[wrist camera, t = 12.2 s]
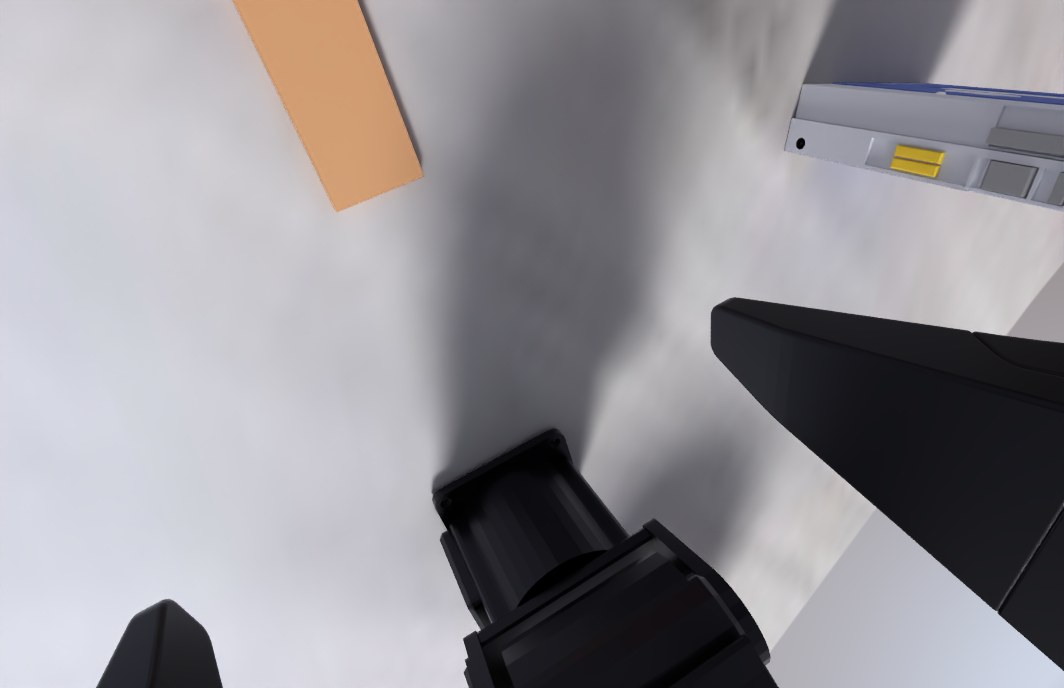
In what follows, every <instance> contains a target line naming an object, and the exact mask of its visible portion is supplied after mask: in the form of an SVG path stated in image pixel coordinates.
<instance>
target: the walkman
mask: <svg viewBox="0 0 1064 688" xmlns="http://www.w3.org/2000/svg"><path fill="white" fill-rule="evenodd" d="M785 151H787V152H791V153H796V154H800V155H805V156H809V157H814V158H818V159H823V160H827V161H832V162H836V163H841V164H845V165H850V166H854V167H859V168H863V169H868V170H872V171H877V172H881V173H886V174H890V175H895V176H899V177H904V178H908V179H913V180H917V181H922V182H926V183H931V184H935V185H940V186H945V187H949V188H954V189H958V190H963V191H972V192H976V193H981V194H985V195H990V196H994V197H999V198H1003V199H1008V200H1012V201H1017V202H1022V203H1026V204H1031V205H1035V206H1040V207H1044V208H1049V209H1053V210H1058V211H1062V212H1064V94H1054V93H1042V92H1029V91H1017V90H1004V89H992V88H979V87H966V86H954V85H941V84H929V83H833V84H803V85H802V90H801V94H800V99H799V103H798V108H797V112H796V117H795V118H792V120H791V124H790V128H789V133H788V137H787V142H786V146H785Z"/></svg>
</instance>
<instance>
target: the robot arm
mask: <svg viewBox="0 0 1064 688" xmlns="http://www.w3.org/2000/svg"><path fill="white" fill-rule="evenodd" d="M711 347H712V350H713V352H714V354H715V355H716V357H717V358H718V359H719V360H720V361H721V362H722V363H723V364H724V365H725V366H726V368H727V369H728V370H729V371H730V372H731V373H732V374H733V375H734V376H735V377H736V378H737V379H738V380H739V381H740V382H741V384H742V385H743V386H744V387H745V388H746V389H747V390H748V391H749V392H750V393H751V394H752V395H753V396H754V397H755V399H756V400H757V401H758V402H759V403H760V404H761V405H762V406H763V407H764V408H765V409H766V410H767V411H768V412H769V413H770V414H771V415H772V416H773V417H774V418H775V419H776V420H777V421H778V422H779V423H781V424H782V425H783V426H784V427H785V428H786V429H787V430H788V431H790V432H791V433H792V434H793V435H794V436H795V437H796V438H798V439H799V440H800V441H801V442H802V443H803V444H804V445H806V446H807V447H808V448H809V449H810V450H811V451H812V452H814V453H815V454H816V455H817V456H818V457H819V458H820V459H822V460H823V461H824V462H825V463H826V464H827V465H829V466H830V467H831V468H832V469H833V470H834V471H835V472H837V473H838V474H839V475H840V476H841V477H842V478H843V479H845V480H846V481H847V482H848V483H849V484H850V485H851V486H853V487H854V488H855V489H856V490H857V491H858V492H859V493H861V494H862V495H863V496H864V497H865V498H866V499H868V500H869V501H870V502H871V503H872V504H873V505H874V506H876V507H877V508H878V509H879V510H880V511H881V512H883V513H884V514H885V515H886V516H887V517H888V518H889V519H890V520H892V521H893V522H894V523H895V524H896V525H897V526H899V527H900V528H901V529H902V530H903V531H904V532H905V533H906V534H908V535H909V536H910V537H911V538H912V539H913V540H915V541H916V542H917V543H918V544H919V545H920V546H921V547H923V548H924V549H925V550H926V551H927V552H928V553H929V554H931V555H932V556H933V557H934V558H935V559H936V560H937V561H939V562H940V563H941V564H942V565H943V566H944V567H946V568H947V569H948V570H949V571H950V572H951V573H952V574H953V575H955V576H956V577H957V578H958V579H959V580H960V581H962V582H963V583H964V584H965V585H966V586H967V587H968V588H970V589H971V590H972V591H973V592H974V593H976V595H978V596H979V597H980V598H981V599H982V600H983V601H985V602H986V603H987V604H988V605H989V606H990V607H992V609H994V610H995V611H998V614H999V615H1000V616H1001V617H1002V618H1004V619H1005V620H1006V621H1007V622H1008V623H1009V624H1010V625H1012V626H1013V627H1014V628H1015V629H1016V630H1017V631H1018V632H1020V633H1021V634H1022V635H1023V636H1024V637H1025V638H1027V639H1028V640H1029V641H1030V642H1031V643H1032V644H1034V646H1036V647H1037V648H1038V649H1039V650H1040V651H1041V652H1042V653H1044V654H1045V655H1046V656H1047V657H1048V658H1049V659H1051V660H1052V661H1053V662H1054V663H1055V664H1056V665H1058V666H1059V667H1060V668H1061V669H1062V670H1063V671H1064V343H1059V342H1049V341H1041V340H1033V339H1025V338H1018V337H1010V336H1002V335H995V334H989V333H982V332H973V333H971V332H970V331H967V330H960V329H953V328H946V327H939V326H932V325H925V324H918V323H911V322H904V321H897V320H890V319H884V318H877V317H870V316H863V315H856V314H849V313H842V312H835V311H828V310H821V309H814V308H807V307H800V306H793V305H786V304H779V303H772V302H765V301H758V300H751V299H744V298H736V297H734V298H730V299H727V300H726V301H724V302H722V303H720V304H718V305H716V306H715V307H714V308H713V309H712V312H711ZM555 438H556V439H555ZM553 439H555V440H554V441H553V442H551V441H552V440H553ZM447 498H448V499H447ZM444 499H447V500H446V501H443V500H444ZM432 501H433V504H434V506H435V509H436V510H437V512H438V514H439V516H440V518H441V519H442V521H443V523H444V525H445V526H446V528H447V531H446V532H444V533H442V535H441V538H440V542H441V544H442V546H443V549H444V551H445V554H446V556H447V559H448V561H449V563H450V566H451V568H452V571H453V573H454V576H455V578H456V581H457V583H458V585H459V588H460V590H461V593H462V595H463V598H464V600H465V602H466V605H467V607H468V609H469V611H470V613H471V614H472V616H473V617H474V619H475V621H476V622H477V624H478V626H479V627H480V629H481V630H480V631H479V632H476V631H474V632H473V633H471V634H470V635H468V636H466V637H465V638H463V641H464V644H465V647H466V651H467V654H468V658H467V659H465V662H466V665H467V668H466V669H465V671H464V675H465V678H466V680H467V683H468V686H469V688H779V687H778V686H777V684H776V683H775V681H774V679H773V678H772V676H771V674H770V673H769V671H768V670H767V668H766V666H765V665H766V664H767V663H769V662H770V653H769V649H768V646H767V644H766V641H765V639H764V637H763V635H762V633H761V631H760V629H759V627H758V625H757V624H756V622H755V620H754V619H753V617H752V616H751V614H750V612H749V611H748V609H747V608H746V607H745V605H744V604H743V602H742V601H741V599H740V598H739V597H738V596H737V594H736V593H735V592H734V591H733V589H732V588H731V587H730V586H729V585H728V583H727V582H726V581H725V580H724V579H723V578H722V577H721V576H720V575H719V574H718V573H717V572H716V571H715V570H714V569H713V568H711V567H710V566H709V565H708V564H707V563H706V562H705V561H703V560H702V559H701V558H700V557H699V556H698V555H696V554H695V553H694V552H693V551H692V550H691V549H689V548H688V547H687V546H686V545H685V544H684V543H682V542H681V541H680V540H679V539H678V538H677V537H675V536H674V535H673V534H672V533H671V532H670V531H668V530H667V529H666V528H665V527H664V526H663V525H661V524H660V523H659V522H658V521H657V520H656V519H652V520H651V521H649V522H647V523H646V524H644V525H643V528H642V529H641V530H639V531H637V532H636V533H634V534H633V535H631V536H629V535H628V534H627V532H626V531H625V530H624V529H623V527H622V526H621V525H620V523H619V522H618V521H617V520H616V518H615V517H614V516H613V515H612V513H611V512H610V511H609V510H608V508H607V507H606V506H605V504H604V503H603V502H602V501H601V499H600V498H599V497H598V496H597V494H596V493H595V492H594V490H593V489H592V488H591V487H590V485H589V484H588V483H587V482H586V480H585V479H584V478H583V476H582V475H581V474H580V473H579V471H578V470H577V469H576V468H575V466H574V465H573V462H572V459H571V456H570V453H569V450H568V446H567V443H566V440H565V437H564V436H563V435H562V433H561V432H560V431H559V430H557V429H551V430H548V431H547V432H545V433H543V434H541V435H539V436H537V437H536V438H534V439H532V440H530V441H528V442H526V443H525V444H523V445H521V446H519V447H517V448H515V449H514V450H512V451H510V452H508V453H506V454H504V455H503V456H501V457H499V458H497V459H495V460H493V461H492V462H490V463H488V464H486V465H484V466H482V467H481V468H479V469H477V470H475V471H473V472H471V473H469V474H468V475H466V476H464V477H462V478H460V479H458V480H457V481H455V482H453V483H451V484H449V485H447V486H446V487H444V488H442V489H440V490H439V491H437V492H436V493H435V494H434V496H433V499H432ZM442 501H443V502H442ZM96 688H223V686H222V683H221V679H220V675H219V671H218V667H217V663H216V659H215V655H214V651H213V647H212V643H211V640H210V637H209V635H208V633H207V631H206V630H205V628H204V627H203V626H202V625H201V624H200V623H199V622H198V621H196V620H195V619H194V618H193V617H192V616H191V615H190V614H189V613H187V612H186V611H185V610H184V609H183V608H182V607H181V606H180V605H178V604H177V603H176V602H175V601H173V600H170V599H165V600H162V601H160V602H158V603H156V604H154V605H152V606H150V607H149V608H147V609H145V610H143V611H141V612H139V613H138V614H136V615H135V616H134V617H133V618H132V619H131V621H130V622H129V624H128V626H127V628H126V630H125V632H124V634H123V636H122V638H121V640H120V642H119V644H118V646H117V648H116V650H115V652H114V654H113V656H112V657H111V659H110V661H109V663H108V665H107V667H106V669H105V671H104V673H103V675H102V677H101V679H100V681H99V683H98V685H97V687H96Z"/></svg>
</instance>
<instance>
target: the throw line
mask: <svg viewBox="0 0 1064 688" xmlns="http://www.w3.org/2000/svg"><path fill="white" fill-rule="evenodd" d="M233 2H234V4H235V6H236V8H237V10H238V12H239V14H240V16H241V18H242V20H243V22H244V24H245V26H246V28H247V30H248V33H249V35H250V37H251V39H252V41H253V43H254V45H255V47H256V49H257V51H258V53H259V55H260V57H261V59H262V61H263V63H264V65H265V67H266V69H267V71H268V73H269V76H270V78H271V80H272V82H273V84H274V86H275V88H276V90H277V92H278V94H279V96H280V98H281V100H282V102H283V104H284V106H285V108H286V110H287V112H288V114H289V116H290V118H291V121H292V123H293V125H294V127H295V129H296V131H297V133H298V135H299V137H300V139H301V141H302V143H303V145H304V147H305V149H306V151H307V153H308V155H309V157H310V159H311V161H312V164H313V166H314V168H315V170H316V172H317V174H318V176H319V178H320V180H321V182H322V184H323V186H324V188H325V190H326V192H327V194H328V196H329V198H330V200H331V202H332V204H333V207H334V209H335V210H336V212H339V211H341V210H343V209H346V208H348V207H351V206H353V205H356V204H358V203H360V202H363V201H365V200H368V199H370V198H373V197H375V196H377V195H380V194H382V193H385V192H387V191H390V190H392V189H394V188H397V187H399V186H402V185H404V184H407V183H409V182H411V181H414V180H416V179H419V178H421V177H424V174H423V172H422V169H421V166H420V164H419V161H418V158H417V156H416V153H415V151H414V148H413V145H412V143H411V140H410V137H409V135H408V132H407V129H406V127H405V124H404V122H403V119H402V116H401V114H400V111H399V108H398V106H397V103H396V100H395V98H394V95H393V93H392V90H391V87H390V85H389V82H388V79H387V77H386V74H385V72H384V69H383V66H382V64H381V61H380V58H379V56H378V53H377V50H376V48H375V45H374V43H373V40H372V37H371V35H370V32H369V29H368V27H367V24H366V21H365V19H364V16H363V14H362V11H361V8H360V6H359V3H358V0H233Z"/></svg>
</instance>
